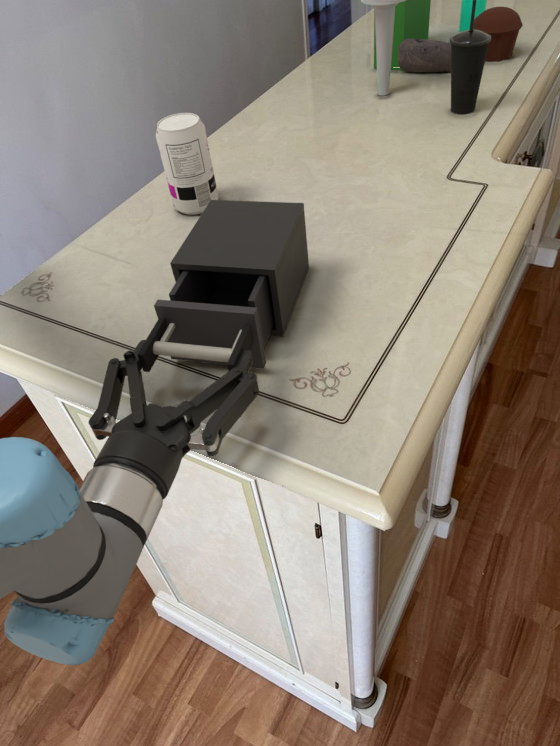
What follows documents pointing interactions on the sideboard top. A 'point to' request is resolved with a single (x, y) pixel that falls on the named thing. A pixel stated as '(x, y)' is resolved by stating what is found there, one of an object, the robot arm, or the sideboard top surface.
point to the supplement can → (186, 162)
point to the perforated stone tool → (424, 55)
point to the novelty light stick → (383, 40)
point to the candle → (466, 13)
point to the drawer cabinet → (251, 248)
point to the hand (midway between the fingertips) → (206, 330)
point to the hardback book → (407, 26)
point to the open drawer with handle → (215, 316)
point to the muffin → (499, 31)
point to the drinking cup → (467, 66)
